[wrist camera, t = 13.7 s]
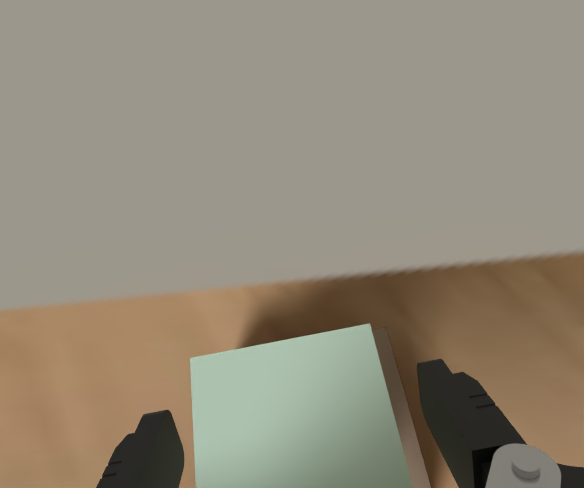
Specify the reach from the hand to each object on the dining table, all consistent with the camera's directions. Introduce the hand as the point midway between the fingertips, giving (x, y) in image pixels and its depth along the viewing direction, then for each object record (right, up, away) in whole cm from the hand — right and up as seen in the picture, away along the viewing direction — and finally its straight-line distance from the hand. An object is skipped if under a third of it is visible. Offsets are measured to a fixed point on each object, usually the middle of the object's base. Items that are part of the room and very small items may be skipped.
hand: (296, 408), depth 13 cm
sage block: (+1, -4, +5) cm, 6 cm away
